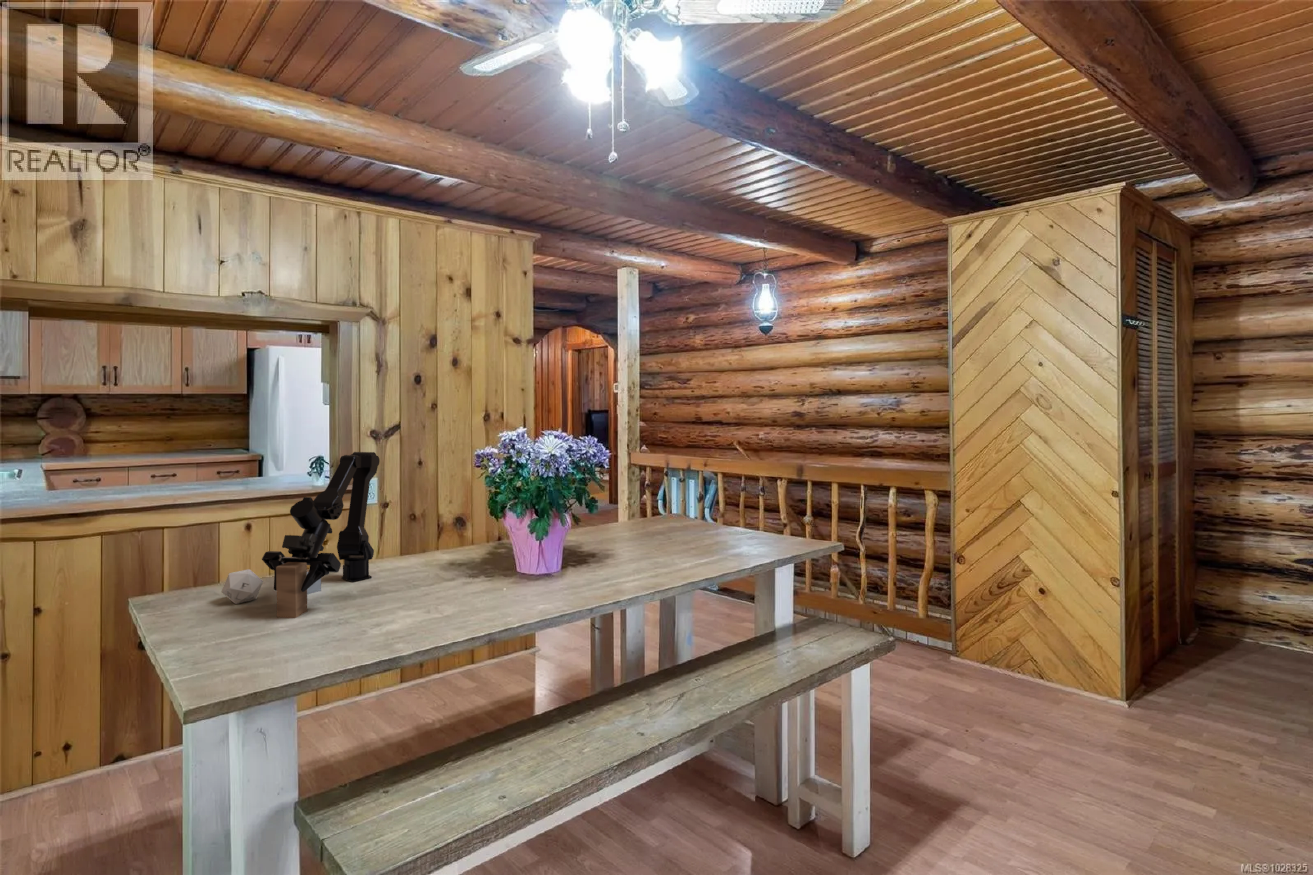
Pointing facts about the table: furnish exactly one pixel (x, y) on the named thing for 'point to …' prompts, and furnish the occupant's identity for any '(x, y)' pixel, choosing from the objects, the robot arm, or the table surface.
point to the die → (242, 586)
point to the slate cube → (314, 587)
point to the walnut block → (291, 589)
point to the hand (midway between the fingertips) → (288, 590)
